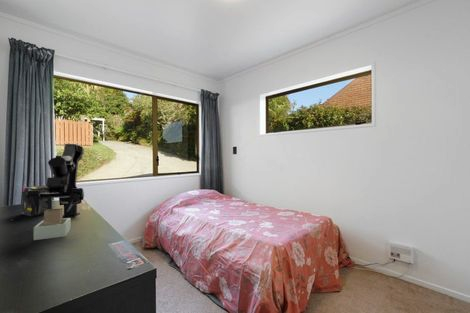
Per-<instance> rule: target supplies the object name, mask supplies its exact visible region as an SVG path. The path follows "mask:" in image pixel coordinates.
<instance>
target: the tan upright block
mask: <svg viewBox="0 0 470 313" xmlns="http://www.w3.org/2000/svg"><path fill="white" fill-rule="evenodd" d="M62 215H63V208H52V209H49V210H46V211H45V212H44V214H43V221H44V226H48V225H57V224H62V219H63V217H62Z"/></svg>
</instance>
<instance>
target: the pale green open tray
mask: <svg viewBox="0 0 470 313" xmlns="http://www.w3.org/2000/svg"><path fill="white" fill-rule="evenodd" d="M71 222H72V221H71V217H64V218H62V224H57V225H48V226H44V220H41V221H40V222H38V223H37V224H36V225H35V226H34V227H33V241H38V240H44V239H45V240H48V239H55V238H64V237H66V236H67V235H68V233H69V232H70V230H71V226H72V225H71Z"/></svg>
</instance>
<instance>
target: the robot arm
mask: <svg viewBox="0 0 470 313" xmlns="http://www.w3.org/2000/svg"><path fill="white" fill-rule="evenodd" d="M84 150H85V149H84V148H83V146H81V145H78V144H77V143H65V145H64V147H63V152H62V154H61V155H55V157H52V158H50V159H49V160H48V162H47V163H48V167H49V171H50V173H51V175H53V176H52V177H47V178H46V182H45V183H46V184H45V186H47V191H49V193H41V191H40V190H29V191H27V192H26V195H25V196H26V198H27V200H28V202H29V203H32V204H33V205H35V207H36V212H37V216H39V215H38V214H39V213H40V209H41V205H42V202H41V201H42V198H52V199H53V198H56V199H57V198H58V200H59V201H58V203H59V206H63V214H62V218H71V217H72V218H74V217H77V216H78V215H80V214H81V212H78V205H80V204H83V203H82V202H83V200H84V198H85V193H84V189H83V188H82V187H77V178H78V168H79V162H81V160H82V159H83V155H84V152H85V151H84Z"/></svg>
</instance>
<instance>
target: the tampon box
mask: <svg viewBox="0 0 470 313" xmlns="http://www.w3.org/2000/svg"><path fill="white" fill-rule="evenodd" d="M29 190H40V191H41V193H49V191H47V186H46V185H32V186H25V187H24V186H23V187H22V206H21V209H22V210H21V214H22V215H25V216H28V217H35V216H40V215H42V216H43V215H44V212H45V211H46V210H49V209H53V208H52V207H53V200H52V199H53V198H42V201H41V202H42V205H41V209H40V213H39V214H38V215H37V212H36V207H35V205H33V204H32V203H29V202H28V200H27V198H26V196H25V195H26V192H27V191H29Z"/></svg>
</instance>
